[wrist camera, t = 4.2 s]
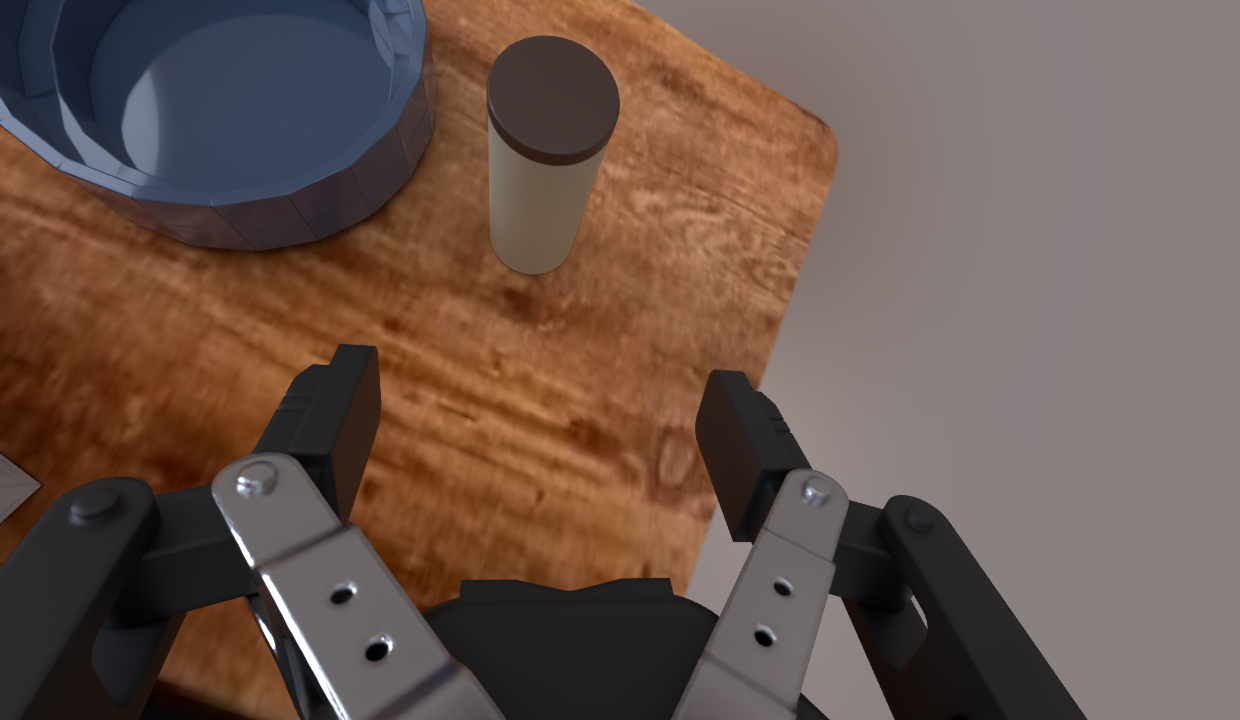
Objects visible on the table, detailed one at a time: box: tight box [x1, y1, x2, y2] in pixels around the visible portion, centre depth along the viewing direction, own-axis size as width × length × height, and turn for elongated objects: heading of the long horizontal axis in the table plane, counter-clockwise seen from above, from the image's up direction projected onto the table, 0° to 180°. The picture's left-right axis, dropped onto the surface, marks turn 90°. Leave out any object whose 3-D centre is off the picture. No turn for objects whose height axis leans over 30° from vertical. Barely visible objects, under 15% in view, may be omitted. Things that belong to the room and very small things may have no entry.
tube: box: [487, 36, 620, 275], centre depth 25 cm, size 4×4×12 cm
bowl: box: [0, 0, 437, 251], centre depth 27 cm, size 17×17×6 cm
